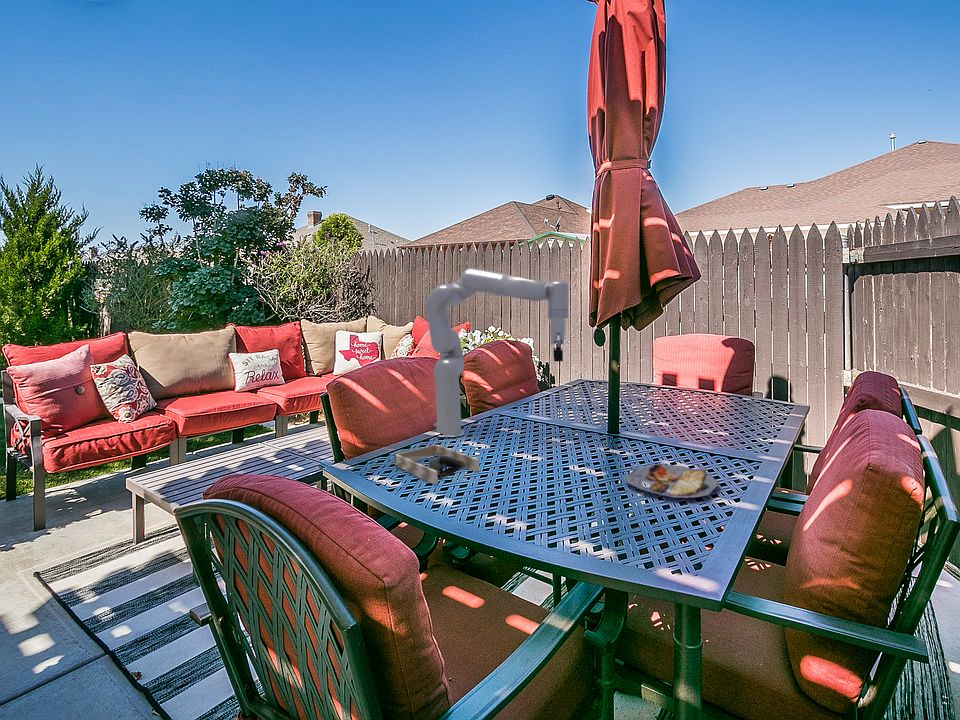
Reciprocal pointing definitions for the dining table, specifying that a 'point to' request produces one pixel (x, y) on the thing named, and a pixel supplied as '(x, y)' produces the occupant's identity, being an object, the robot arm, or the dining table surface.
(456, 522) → the dining table surface
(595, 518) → the dining table surface
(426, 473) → the beige u-shaped frame
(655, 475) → the food plate
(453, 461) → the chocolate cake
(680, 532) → the dining table surface
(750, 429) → the dining table surface
